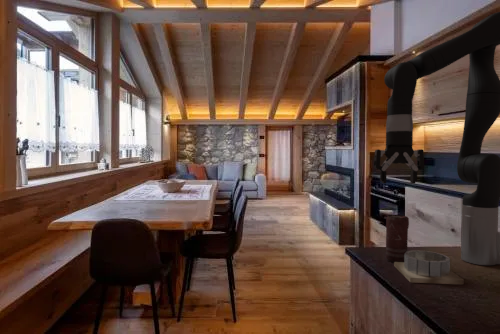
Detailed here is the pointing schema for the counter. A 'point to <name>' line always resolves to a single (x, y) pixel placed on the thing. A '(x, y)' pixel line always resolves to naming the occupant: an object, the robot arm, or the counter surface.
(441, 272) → the collar
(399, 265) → the stand
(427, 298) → the counter surface
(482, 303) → the counter surface
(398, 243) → the can
